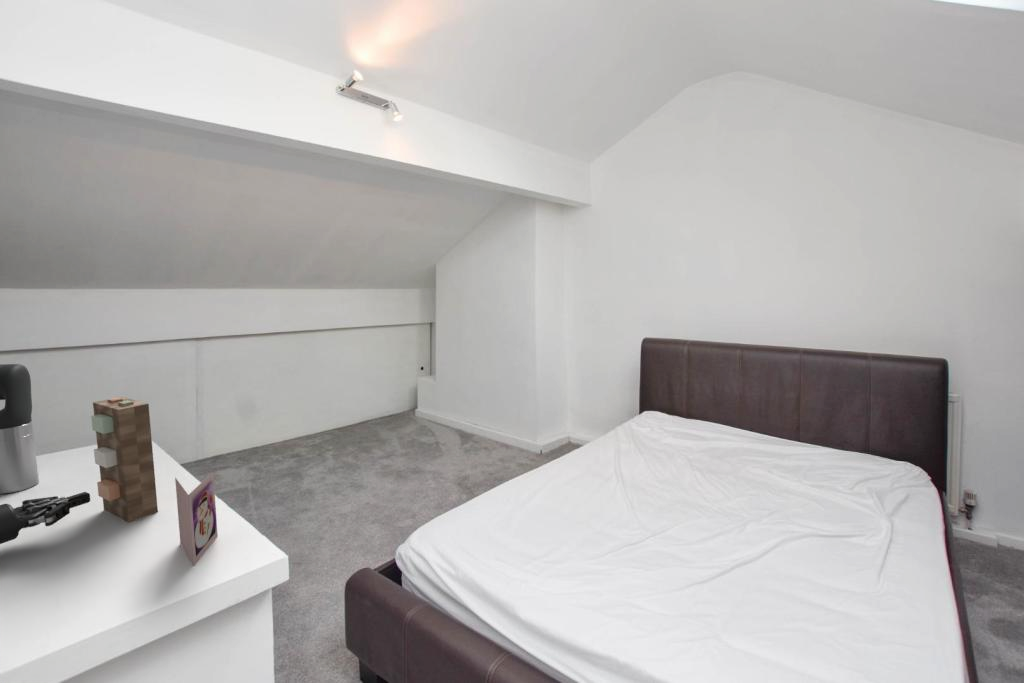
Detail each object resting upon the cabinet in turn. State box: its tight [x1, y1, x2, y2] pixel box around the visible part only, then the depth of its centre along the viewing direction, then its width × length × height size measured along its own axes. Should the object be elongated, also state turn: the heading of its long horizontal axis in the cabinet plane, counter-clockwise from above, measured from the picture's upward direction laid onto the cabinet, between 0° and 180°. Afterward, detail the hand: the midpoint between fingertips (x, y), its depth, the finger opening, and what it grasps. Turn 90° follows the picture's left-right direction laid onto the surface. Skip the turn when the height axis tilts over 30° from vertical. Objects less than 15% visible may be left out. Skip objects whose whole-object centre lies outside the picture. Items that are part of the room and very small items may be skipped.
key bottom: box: [96, 479, 121, 501], centre depth 115 cm, size 5×3×3 cm, turn 62°
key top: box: [90, 414, 114, 434], centre depth 113 cm, size 5×3×3 cm, turn 62°
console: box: [92, 396, 159, 523], centre depth 117 cm, size 12×6×28 cm, turn 62°
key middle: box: [93, 447, 117, 468], centre depth 114 cm, size 5×3×3 cm, turn 62°
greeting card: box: [174, 471, 219, 567], centre depth 101 cm, size 11×7×15 cm, turn 10°
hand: (88, 496), depth 111 cm, fingers closed
